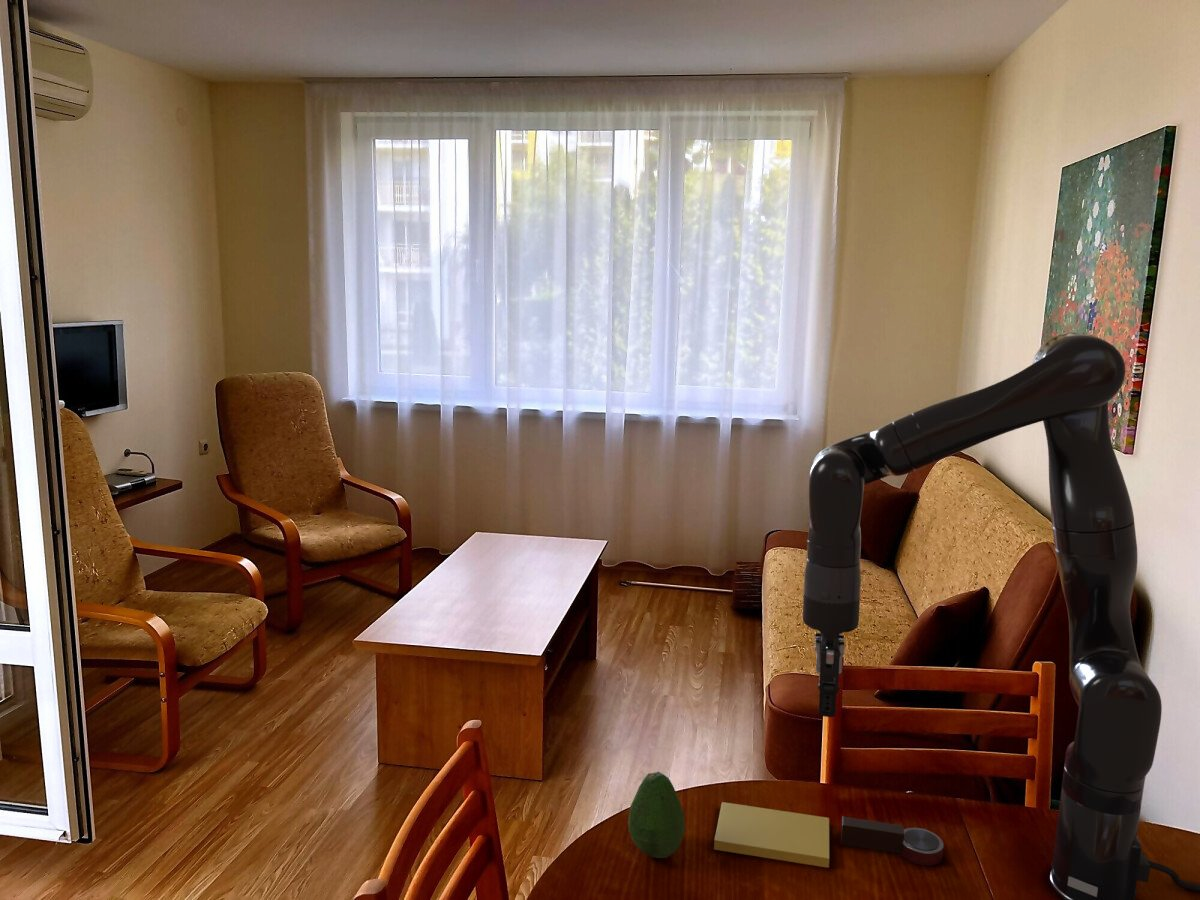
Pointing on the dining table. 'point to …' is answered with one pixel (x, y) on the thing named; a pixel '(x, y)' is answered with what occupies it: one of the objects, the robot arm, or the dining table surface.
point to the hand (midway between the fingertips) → (826, 701)
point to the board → (773, 834)
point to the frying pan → (893, 840)
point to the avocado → (656, 817)
